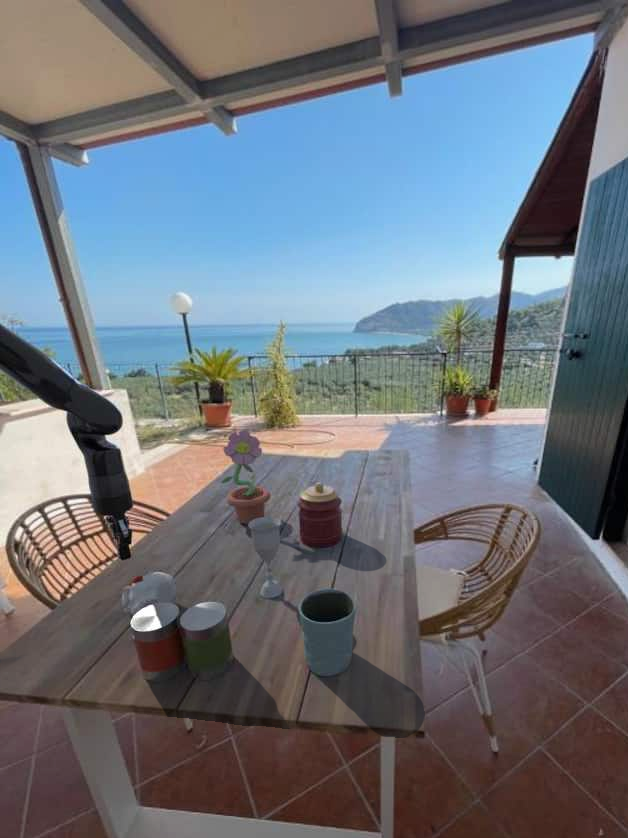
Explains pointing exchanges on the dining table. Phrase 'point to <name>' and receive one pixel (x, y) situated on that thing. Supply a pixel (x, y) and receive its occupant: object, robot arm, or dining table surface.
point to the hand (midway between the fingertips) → (125, 558)
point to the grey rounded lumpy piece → (148, 592)
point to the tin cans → (182, 641)
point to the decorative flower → (250, 497)
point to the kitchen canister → (320, 516)
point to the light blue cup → (327, 630)
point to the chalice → (267, 549)
